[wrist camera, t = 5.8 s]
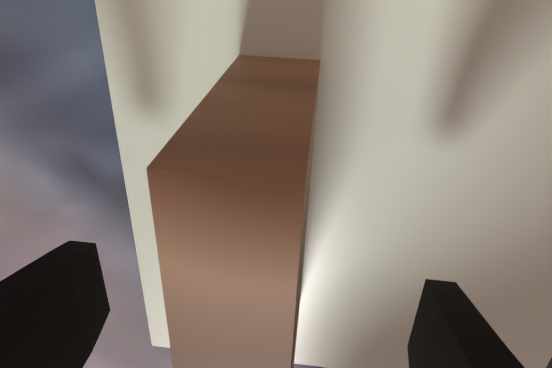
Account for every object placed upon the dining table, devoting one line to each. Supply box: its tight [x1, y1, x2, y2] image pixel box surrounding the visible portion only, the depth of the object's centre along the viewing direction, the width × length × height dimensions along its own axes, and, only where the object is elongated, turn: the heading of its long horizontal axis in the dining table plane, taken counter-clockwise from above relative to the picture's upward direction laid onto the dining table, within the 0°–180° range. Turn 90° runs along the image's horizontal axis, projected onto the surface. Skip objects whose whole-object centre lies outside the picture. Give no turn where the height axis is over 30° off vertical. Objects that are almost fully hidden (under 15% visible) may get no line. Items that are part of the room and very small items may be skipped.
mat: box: [95, 0, 552, 368], centre depth 12 cm, size 16×14×1 cm
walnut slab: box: [146, 55, 320, 368], centre depth 10 cm, size 8×2×6 cm, turn 178°
